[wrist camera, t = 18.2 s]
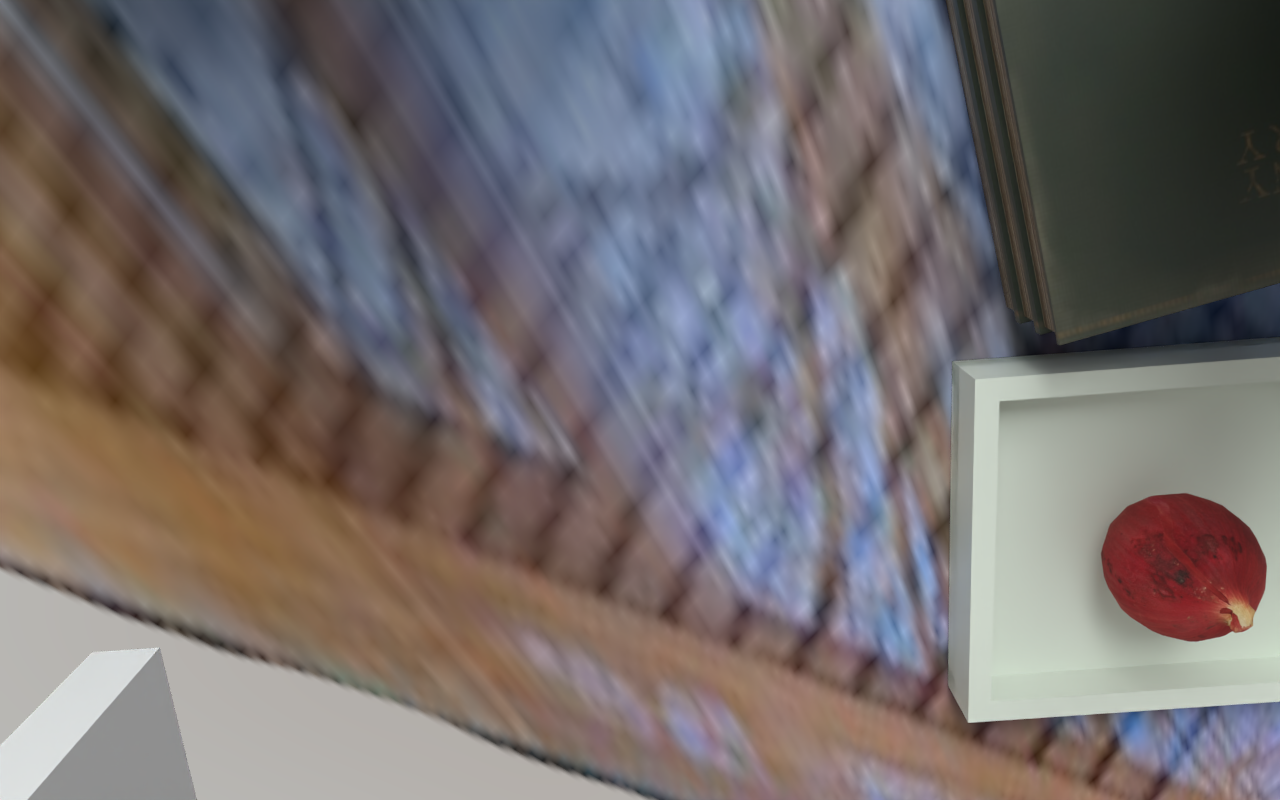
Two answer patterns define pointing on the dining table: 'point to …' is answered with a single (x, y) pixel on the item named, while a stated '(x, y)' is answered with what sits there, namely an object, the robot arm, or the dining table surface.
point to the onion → (1184, 567)
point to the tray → (1102, 523)
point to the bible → (1124, 153)
